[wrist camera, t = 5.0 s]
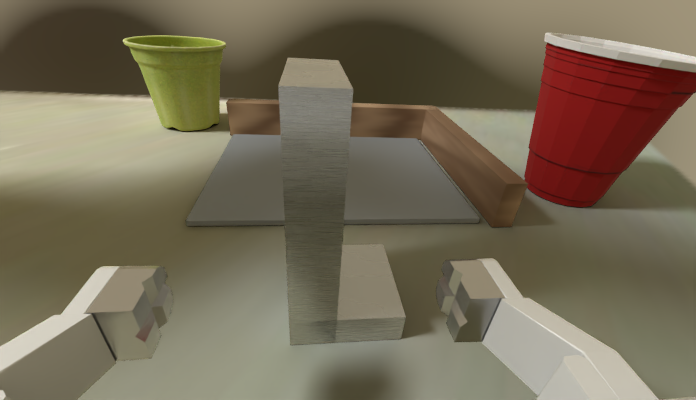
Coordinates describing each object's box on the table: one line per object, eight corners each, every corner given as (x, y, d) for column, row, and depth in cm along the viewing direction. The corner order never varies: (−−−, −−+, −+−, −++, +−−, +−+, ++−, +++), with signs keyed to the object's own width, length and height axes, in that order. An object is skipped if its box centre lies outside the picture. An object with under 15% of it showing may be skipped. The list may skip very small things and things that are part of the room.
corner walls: (175, 230, 21) (163, 181, 19) (233, 130, 37) (229, 98, 35) (511, 226, 23) (528, 183, 22) (428, 135, 39) (434, 105, 38)
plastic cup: (631, 247, 22) (756, 56, 16) (477, 189, 28) (526, 33, 22) (640, 193, 29) (729, 47, 23) (517, 156, 35) (561, 32, 29)
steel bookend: (290, 345, 14) (278, 85, 9) (294, 266, 19) (288, 57, 13) (401, 338, 15) (457, 93, 9) (380, 264, 19) (410, 64, 14)
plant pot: (223, 108, 43) (213, 36, 39) (245, 130, 37) (236, 46, 32) (142, 116, 39) (120, 34, 34) (150, 142, 32) (125, 46, 28)
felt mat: (186, 225, 21) (185, 221, 21) (234, 137, 35) (233, 134, 34) (478, 223, 24) (479, 218, 23) (415, 141, 37) (416, 138, 37)
